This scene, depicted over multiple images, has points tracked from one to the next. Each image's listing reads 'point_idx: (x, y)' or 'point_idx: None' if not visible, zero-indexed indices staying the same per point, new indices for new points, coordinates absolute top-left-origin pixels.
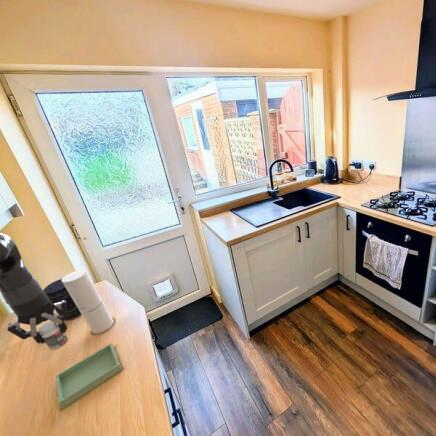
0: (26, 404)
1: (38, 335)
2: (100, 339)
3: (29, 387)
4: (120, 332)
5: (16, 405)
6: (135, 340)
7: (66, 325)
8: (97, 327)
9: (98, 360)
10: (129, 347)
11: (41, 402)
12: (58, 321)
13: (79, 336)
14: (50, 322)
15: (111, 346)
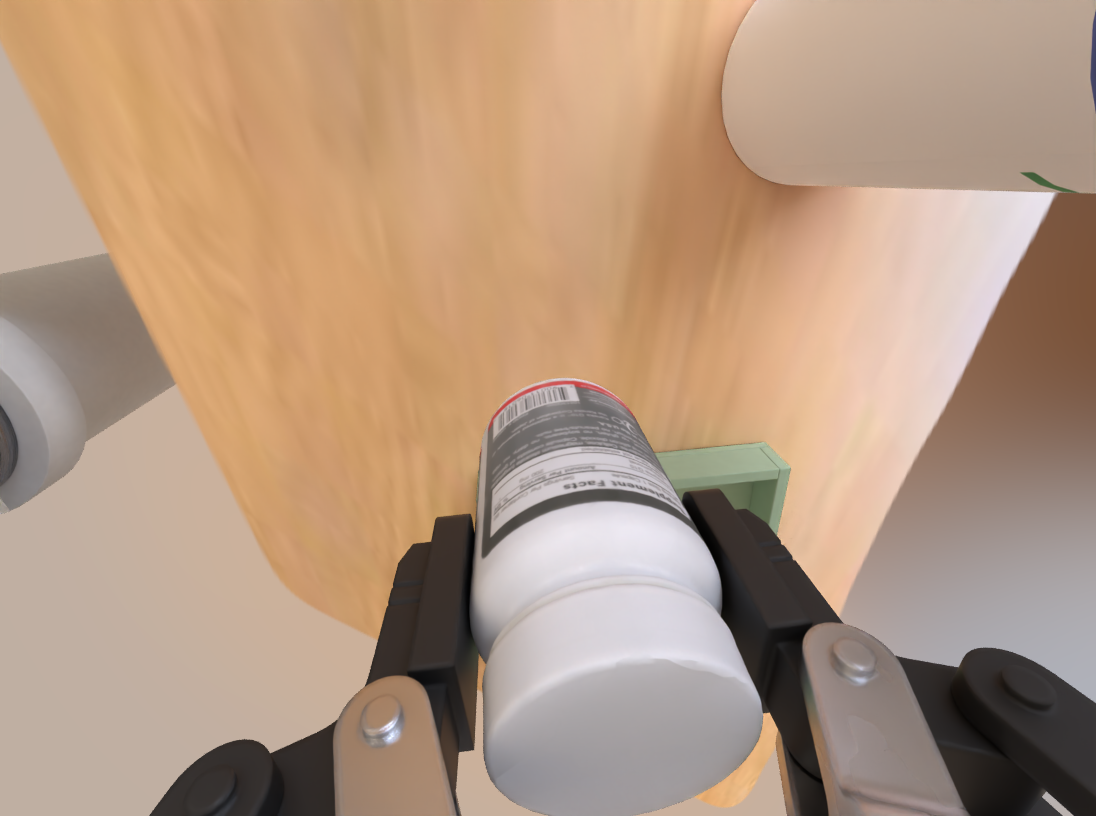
0: (333, 511)
1: (467, 739)
2: (737, 276)
3: (308, 395)
4: (856, 319)
5: (277, 483)
6: (867, 472)
7: (771, 545)
8: (806, 178)
9: (677, 491)
10: (821, 499)
11: (407, 547)
12: (826, 799)
13: (616, 36)
14: (697, 692)
15: (781, 499)
